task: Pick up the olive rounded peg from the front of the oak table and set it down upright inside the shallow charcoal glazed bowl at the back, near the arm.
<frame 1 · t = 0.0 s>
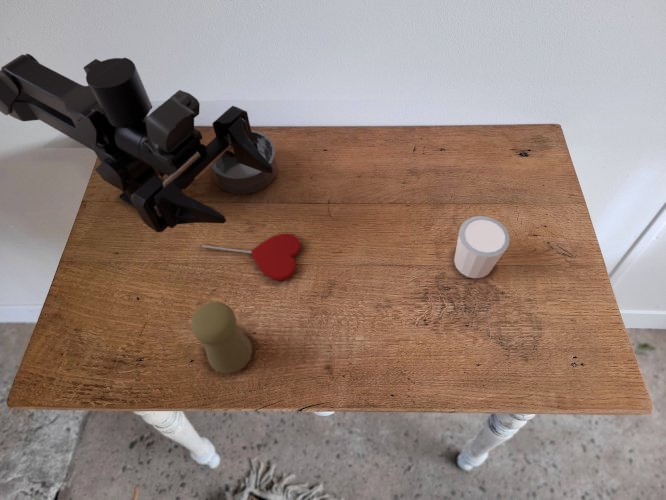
hand: (249, 194, 59), 17 cm above the table, tool horizontal, fingers open, 9 cm apart
white cylinder: (472, 262, 72), on the table
bowl: (246, 171, 83), on the table
olive rounded peg: (230, 352, 65), on the table
lollipop: (250, 254, 74), on the table
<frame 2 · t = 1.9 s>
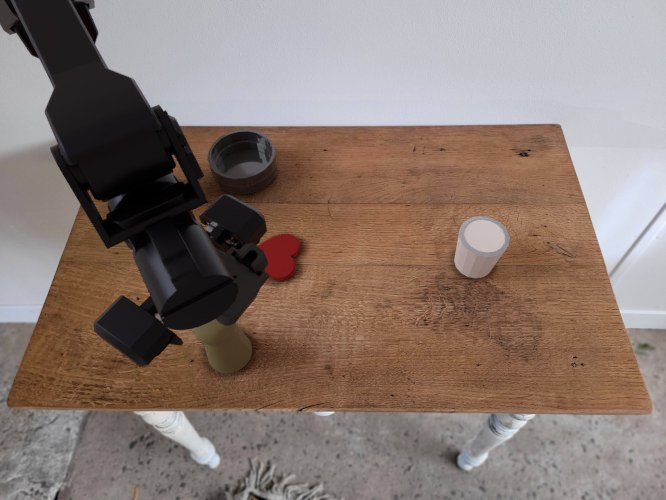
hand: (207, 310, 55), 13 cm above the table, tool pointing down, fingers open, 9 cm apart
nothing on the table moved.
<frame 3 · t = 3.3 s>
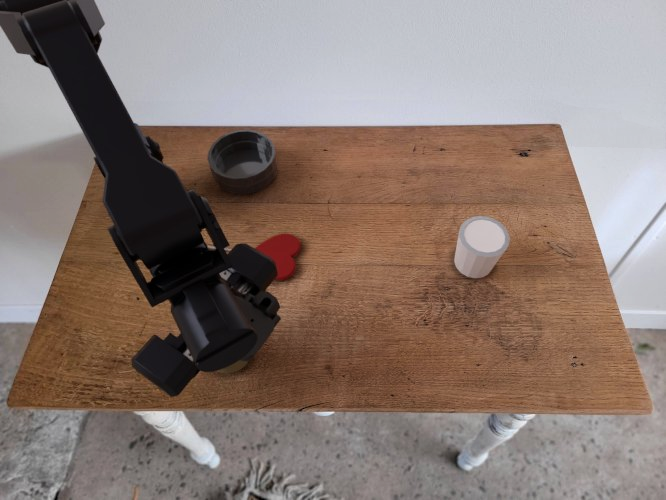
hand: (225, 342, 62), 4 cm above the table, tool pointing down, fingers closed on olive rounded peg, 6 cm apart
olive rounded peg: (230, 352, 65), on the table, touching gripper
everything else where it was.
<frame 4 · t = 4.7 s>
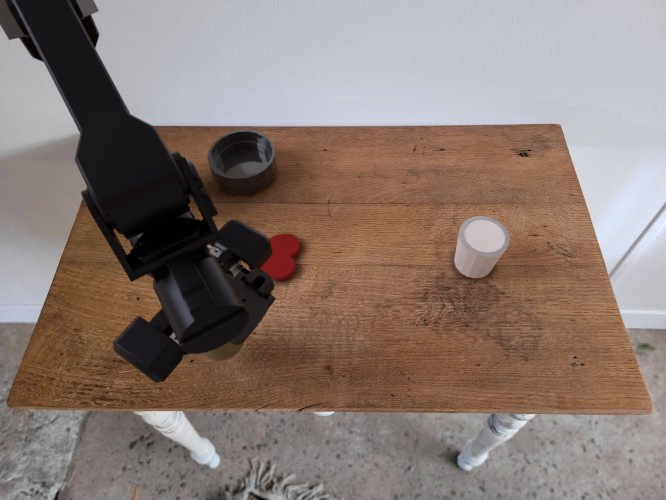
hand: (216, 326, 58), 8 cm above the table, tool pointing down, fingers closed on olive rounded peg, 4 cm apart
olive rounded peg: (222, 338, 62), point 4 cm above the table, touching gripper
everything else where it was.
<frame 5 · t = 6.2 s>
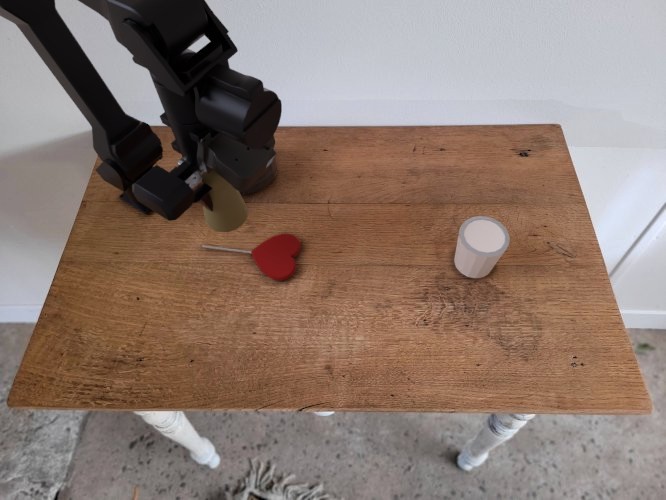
hand: (221, 198, 65), 12 cm above the table, tool pointing down, fingers closed on olive rounded peg, 4 cm apart
olive rounded peg: (226, 215, 68), point 8 cm above the table, touching gripper
everything else where it was.
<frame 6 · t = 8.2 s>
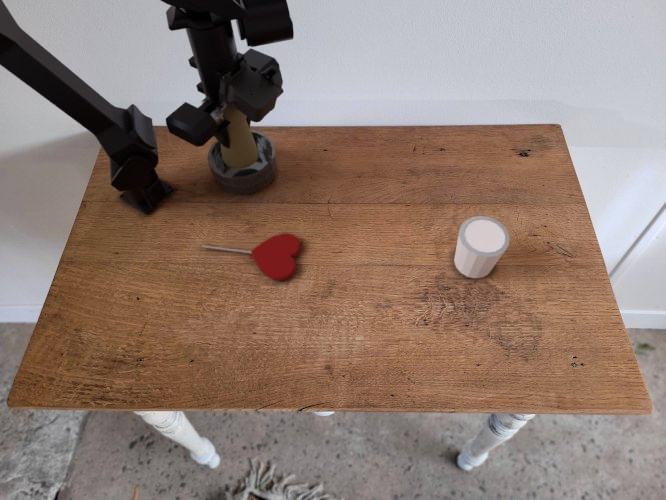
hand: (236, 138, 76), 8 cm above the table, tool pointing down, fingers closed on olive rounded peg, 4 cm apart
olive rounded peg: (240, 156, 80), point 4 cm above the table, touching gripper
everything else where it was.
when the fingers open (5 cm above the table, at t = 9.4 s): olive rounded peg stays where it is, resting on bowl.
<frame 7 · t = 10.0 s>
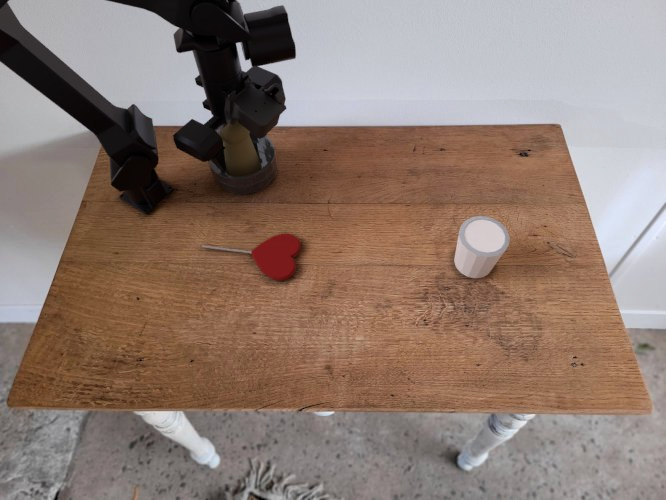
hand: (241, 151, 79), 5 cm above the table, tool pointing down, fingers open, 9 cm apart
olive rounded peg: (244, 169, 82), point 1 cm above the table, touching bowl
everything else where it was.
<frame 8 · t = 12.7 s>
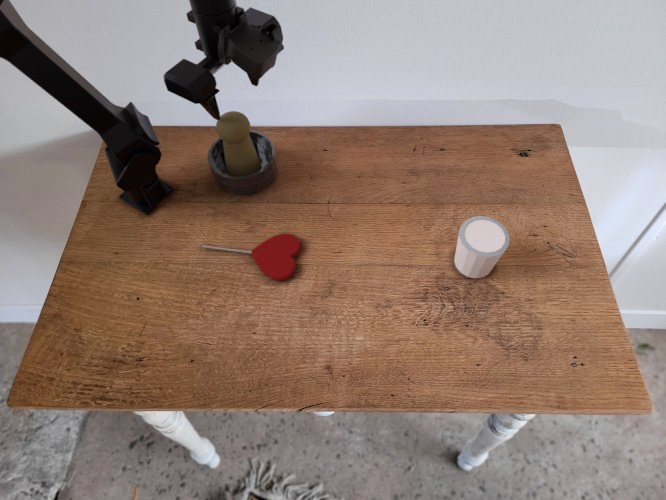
hand: (236, 101, 75), 12 cm above the table, tool pointing down, fingers open, 9 cm apart
nothing on the table moved.
at the end: olive rounded peg inside the target area in the bowl (0.2 cm from its centre), point 0.6 cm above the bowl's base; olive rounded peg tilted 0°; the gripper is holding nothing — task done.
